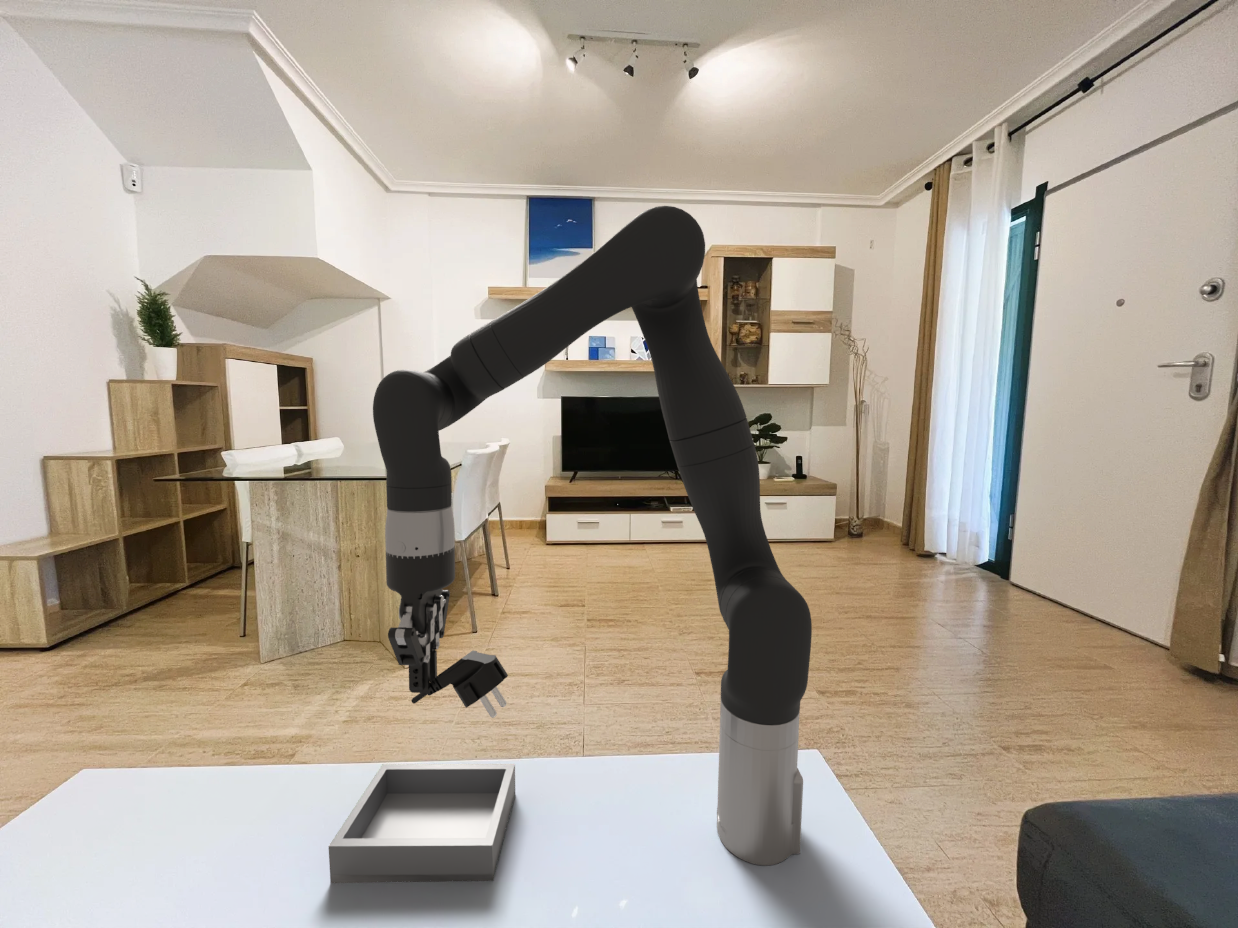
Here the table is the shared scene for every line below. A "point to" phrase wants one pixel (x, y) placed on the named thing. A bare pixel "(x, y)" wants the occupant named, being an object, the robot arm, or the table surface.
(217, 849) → the table surface
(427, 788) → the box
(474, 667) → the power plug
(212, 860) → the table surface
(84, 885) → the table surface
